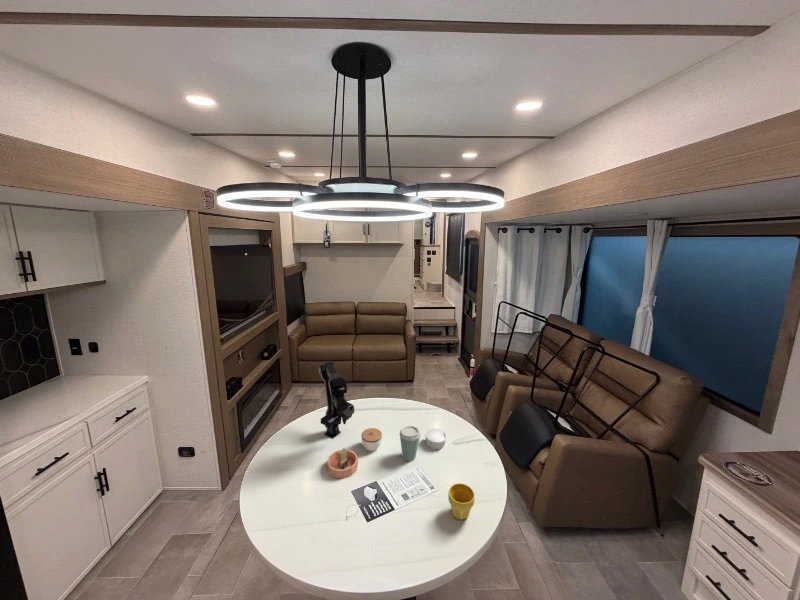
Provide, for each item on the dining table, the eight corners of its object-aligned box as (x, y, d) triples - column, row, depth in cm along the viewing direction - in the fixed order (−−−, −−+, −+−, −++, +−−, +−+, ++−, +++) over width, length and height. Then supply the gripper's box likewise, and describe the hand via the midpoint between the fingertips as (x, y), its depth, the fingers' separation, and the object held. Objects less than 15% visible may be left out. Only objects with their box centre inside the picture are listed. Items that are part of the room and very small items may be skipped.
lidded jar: (383, 441, 171) (383, 426, 169) (380, 455, 161) (380, 438, 159) (363, 439, 172) (363, 424, 170) (359, 453, 162) (359, 437, 160)
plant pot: (446, 501, 134) (447, 482, 132) (470, 502, 134) (472, 483, 131) (448, 524, 124) (450, 503, 122) (475, 525, 123) (477, 504, 121)
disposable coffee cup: (395, 460, 157) (396, 433, 154) (403, 446, 167) (403, 421, 164) (416, 466, 154) (417, 439, 150) (422, 451, 163) (423, 426, 160)
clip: (337, 466, 152) (337, 460, 151) (341, 462, 154) (341, 456, 154) (343, 469, 150) (343, 463, 149) (348, 465, 152) (348, 460, 152)
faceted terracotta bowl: (321, 470, 150) (321, 462, 149) (341, 453, 162) (341, 446, 161) (344, 482, 143) (343, 475, 142) (363, 464, 154) (363, 456, 153)
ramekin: (447, 451, 164) (447, 442, 163) (425, 450, 165) (426, 441, 163) (444, 437, 175) (445, 429, 174) (424, 436, 175) (424, 428, 174)
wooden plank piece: (338, 467, 151) (338, 452, 149) (344, 462, 154) (343, 448, 152) (341, 469, 150) (341, 454, 148) (347, 463, 153) (346, 449, 151)
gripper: (336, 415, 146) (337, 444, 149) (361, 397, 161) (362, 424, 165) (319, 407, 152) (320, 436, 155) (345, 391, 167) (345, 417, 170)
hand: (338, 428), depth 161 cm, fingers open, 9 cm apart
